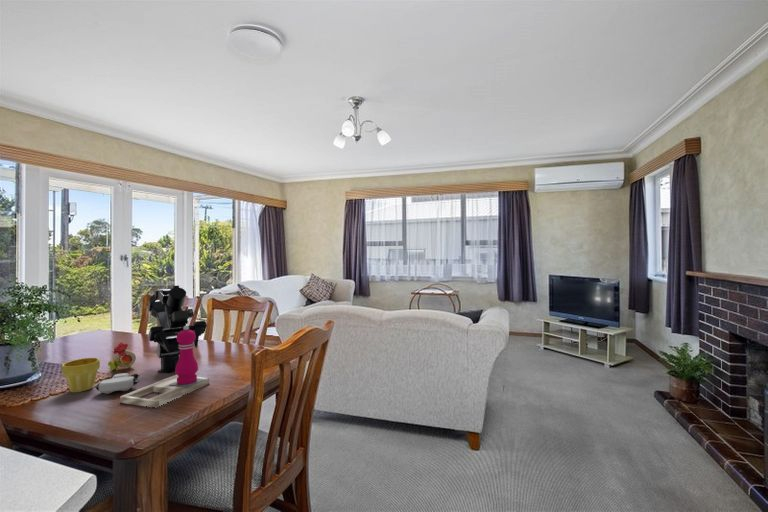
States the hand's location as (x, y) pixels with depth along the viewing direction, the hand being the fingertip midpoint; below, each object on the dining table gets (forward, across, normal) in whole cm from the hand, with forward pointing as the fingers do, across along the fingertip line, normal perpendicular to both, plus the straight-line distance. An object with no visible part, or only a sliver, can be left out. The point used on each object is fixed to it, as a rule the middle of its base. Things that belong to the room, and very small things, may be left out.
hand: (183, 349), depth 135 cm
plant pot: (-5, -28, +23) cm, 37 cm away
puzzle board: (+13, -6, +5) cm, 15 cm away
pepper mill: (+11, 0, +4) cm, 12 cm away
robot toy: (+1, -18, +18) cm, 25 cm away
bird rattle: (-17, -14, +36) cm, 42 cm away
